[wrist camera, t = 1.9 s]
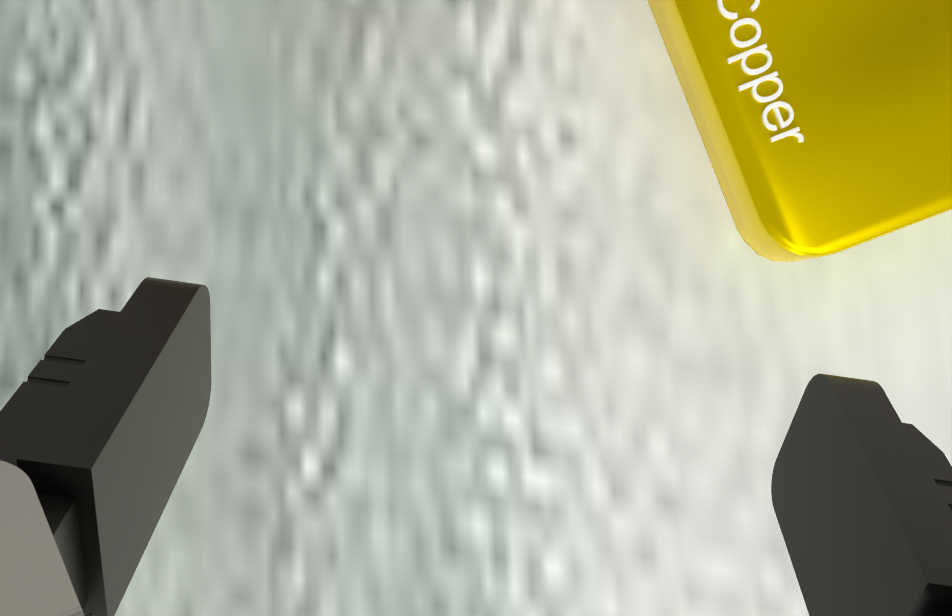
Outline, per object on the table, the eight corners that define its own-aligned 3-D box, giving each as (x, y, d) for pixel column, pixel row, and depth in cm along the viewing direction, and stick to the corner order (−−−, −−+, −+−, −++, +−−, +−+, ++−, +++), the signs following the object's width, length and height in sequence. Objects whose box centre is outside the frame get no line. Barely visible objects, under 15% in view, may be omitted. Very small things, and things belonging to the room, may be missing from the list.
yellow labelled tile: (622, -57, 38) (635, -109, 33) (967, -196, 37) (1032, -271, 32) (753, 278, 38) (785, 274, 33) (1104, 145, 37) (1189, 121, 32)
